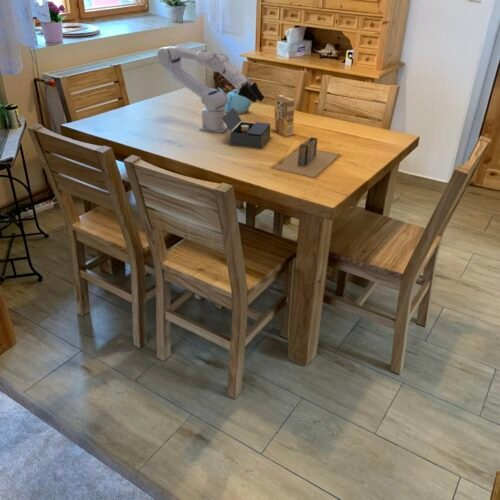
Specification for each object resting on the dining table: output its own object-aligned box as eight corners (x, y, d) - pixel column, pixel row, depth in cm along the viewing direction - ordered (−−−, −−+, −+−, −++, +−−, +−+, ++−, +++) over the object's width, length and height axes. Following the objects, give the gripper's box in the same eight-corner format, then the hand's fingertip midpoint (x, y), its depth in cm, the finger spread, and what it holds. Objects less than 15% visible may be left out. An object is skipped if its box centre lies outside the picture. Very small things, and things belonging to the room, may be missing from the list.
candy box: (293, 135, 216) (295, 99, 208) (285, 136, 214) (287, 100, 206) (281, 129, 223) (282, 94, 214) (273, 130, 221) (274, 95, 212)
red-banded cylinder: (239, 140, 208) (239, 126, 205) (242, 138, 211) (242, 124, 207) (247, 141, 207) (247, 127, 204) (249, 139, 210) (250, 125, 207)
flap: (230, 131, 201) (230, 131, 201) (241, 120, 213) (240, 120, 213) (222, 117, 199) (221, 118, 199) (233, 107, 211) (232, 107, 211)
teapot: (223, 116, 237) (223, 94, 232) (217, 107, 249) (217, 86, 244) (253, 114, 240) (254, 93, 235) (245, 105, 253) (246, 85, 247)
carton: (230, 145, 204) (230, 131, 201) (241, 134, 216) (241, 120, 213) (261, 149, 201) (261, 134, 198) (270, 137, 213) (270, 123, 210)
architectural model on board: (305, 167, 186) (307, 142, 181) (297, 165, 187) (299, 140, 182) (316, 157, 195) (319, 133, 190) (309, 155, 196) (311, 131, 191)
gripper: (234, 69, 196) (259, 92, 196) (247, 69, 209) (271, 91, 209) (223, 84, 200) (248, 107, 199) (237, 83, 213) (260, 104, 212)
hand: (259, 99), depth 204 cm, fingers open, 7 cm apart
